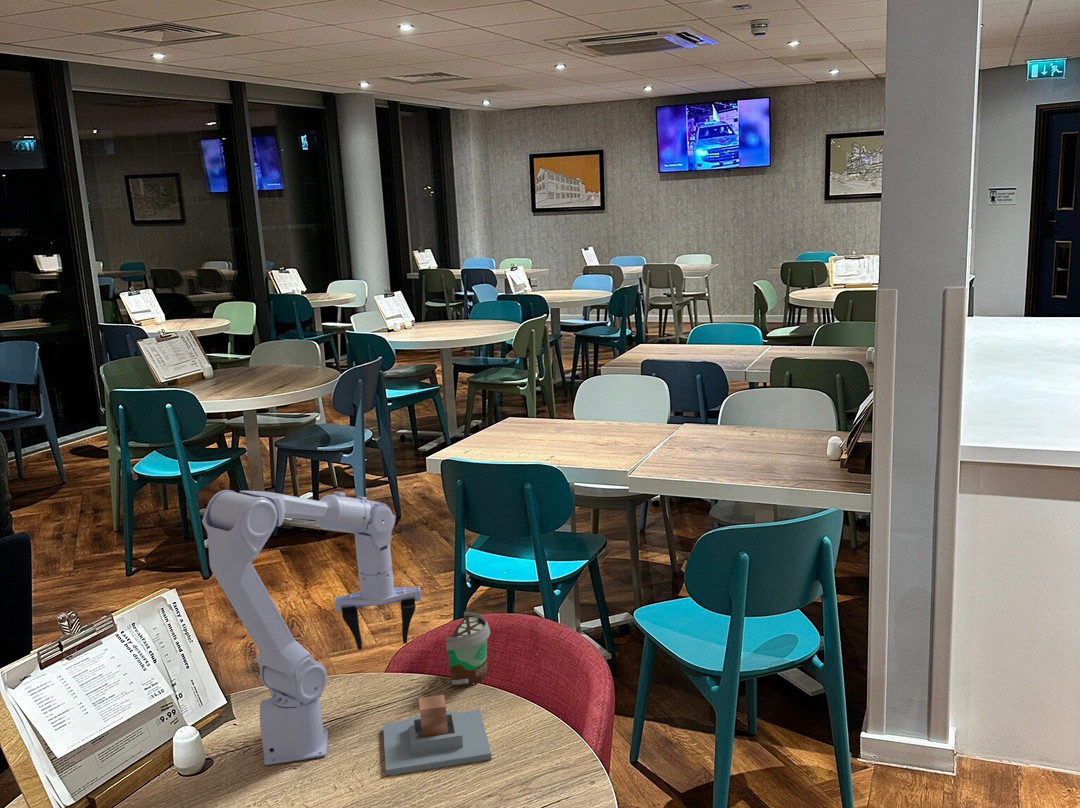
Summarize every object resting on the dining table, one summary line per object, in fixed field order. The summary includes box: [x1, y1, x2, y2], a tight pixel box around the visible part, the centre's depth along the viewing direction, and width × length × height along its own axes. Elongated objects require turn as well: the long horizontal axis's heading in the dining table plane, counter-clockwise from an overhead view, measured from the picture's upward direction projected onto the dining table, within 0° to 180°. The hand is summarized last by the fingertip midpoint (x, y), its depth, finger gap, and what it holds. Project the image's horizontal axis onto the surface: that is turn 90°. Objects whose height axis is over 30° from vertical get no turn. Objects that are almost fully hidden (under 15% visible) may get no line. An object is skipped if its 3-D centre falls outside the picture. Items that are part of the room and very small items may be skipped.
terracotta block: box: [418, 694, 448, 738], centre depth 151 cm, size 4×4×6 cm
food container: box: [445, 611, 491, 689], centre depth 172 cm, size 12×6×10 cm, turn 168°
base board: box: [382, 709, 493, 776], centre depth 151 cm, size 16×14×3 cm
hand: (382, 644), depth 165 cm, fingers open, 7 cm apart
